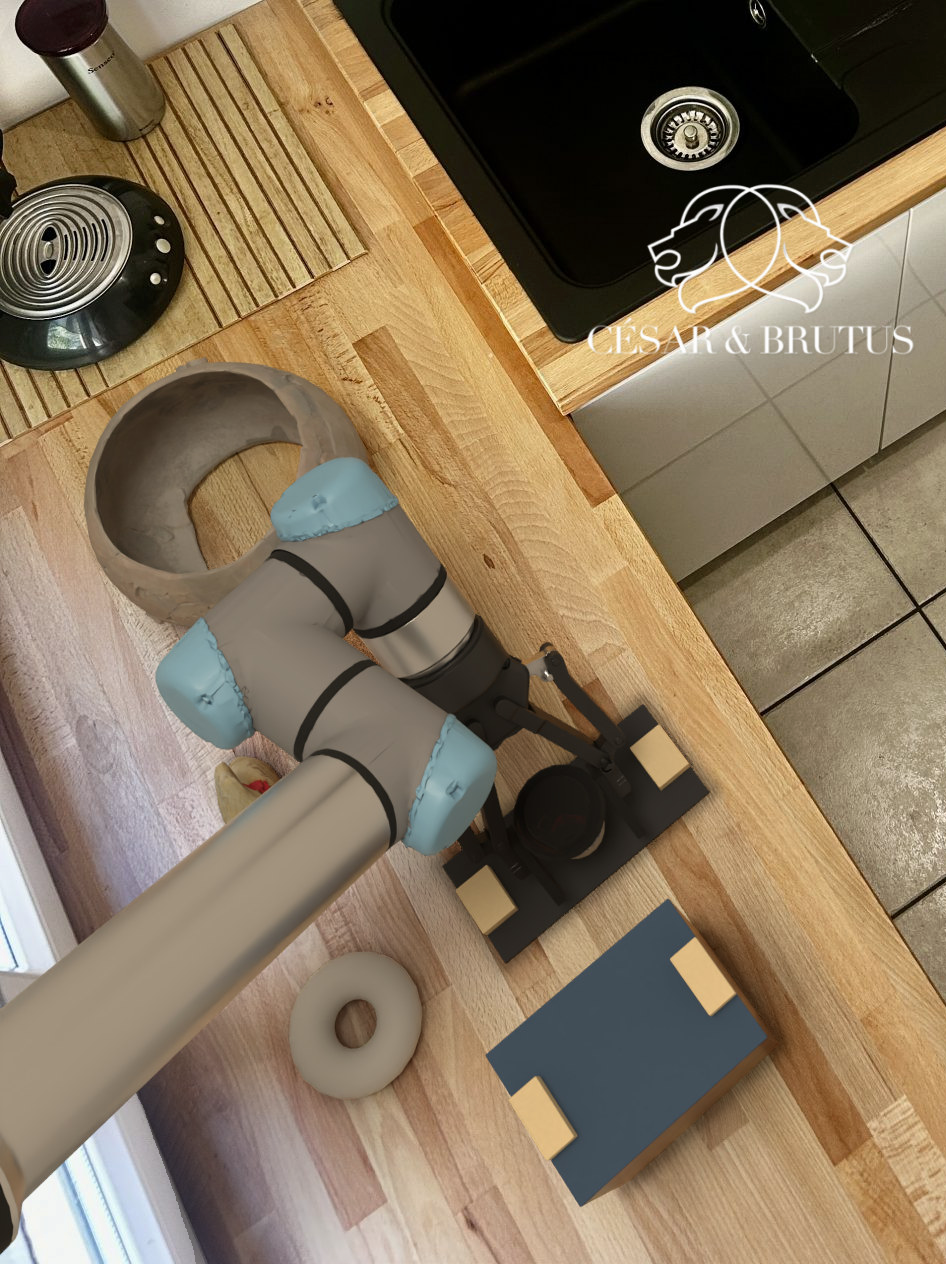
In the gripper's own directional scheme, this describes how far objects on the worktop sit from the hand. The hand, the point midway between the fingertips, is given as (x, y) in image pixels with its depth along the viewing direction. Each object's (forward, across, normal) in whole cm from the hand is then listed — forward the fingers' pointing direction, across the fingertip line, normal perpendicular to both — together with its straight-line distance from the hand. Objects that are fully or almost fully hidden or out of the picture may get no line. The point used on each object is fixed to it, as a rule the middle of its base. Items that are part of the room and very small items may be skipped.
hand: (597, 860), depth 115 cm
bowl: (-27, +7, -33) cm, 43 cm away
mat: (0, 0, -5) cm, 5 cm away
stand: (+12, +4, +7) cm, 15 cm away
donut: (+1, +21, -4) cm, 21 cm away
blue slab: (-5, +4, +24) cm, 25 cm away
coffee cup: (0, 0, -5) cm, 5 cm away
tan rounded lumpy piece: (-13, +19, -18) cm, 29 cm away
